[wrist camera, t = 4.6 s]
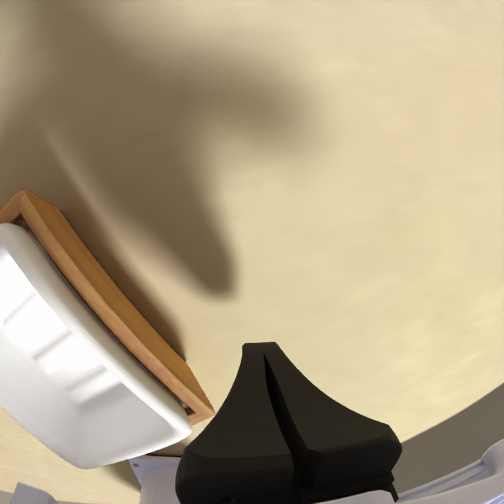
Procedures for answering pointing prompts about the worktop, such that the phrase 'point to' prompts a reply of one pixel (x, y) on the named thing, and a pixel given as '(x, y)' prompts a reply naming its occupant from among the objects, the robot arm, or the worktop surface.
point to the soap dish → (82, 349)
